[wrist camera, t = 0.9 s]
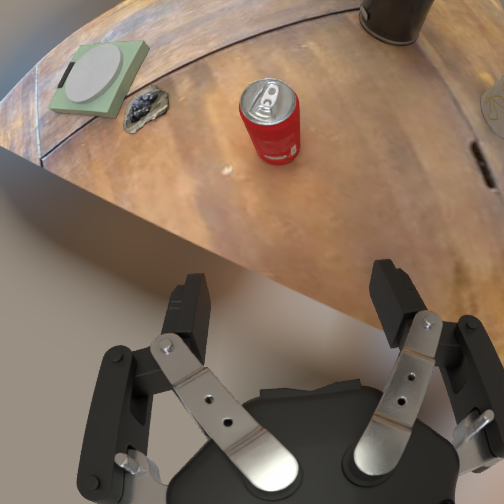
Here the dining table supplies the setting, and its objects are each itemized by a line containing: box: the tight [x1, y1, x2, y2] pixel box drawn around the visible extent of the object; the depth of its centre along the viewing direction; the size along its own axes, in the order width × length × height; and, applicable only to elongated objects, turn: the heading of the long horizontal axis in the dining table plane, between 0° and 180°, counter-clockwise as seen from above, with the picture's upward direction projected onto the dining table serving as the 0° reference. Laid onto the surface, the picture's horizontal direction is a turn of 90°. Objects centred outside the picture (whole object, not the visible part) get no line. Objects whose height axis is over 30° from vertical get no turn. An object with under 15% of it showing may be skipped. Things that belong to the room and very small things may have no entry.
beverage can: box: [239, 78, 300, 165], centre depth 29 cm, size 5×5×12 cm
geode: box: [123, 84, 168, 133], centre depth 37 cm, size 7×8×2 cm
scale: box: [48, 41, 150, 118], centre depth 38 cm, size 13×15×3 cm
